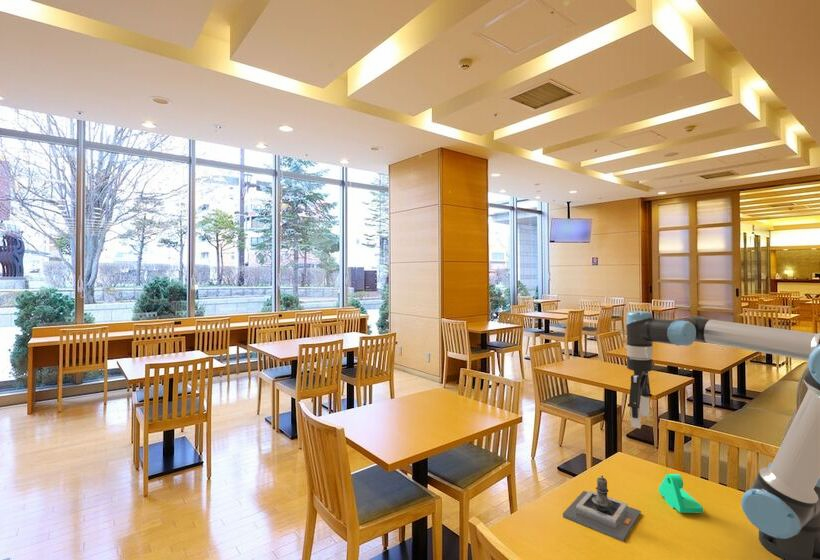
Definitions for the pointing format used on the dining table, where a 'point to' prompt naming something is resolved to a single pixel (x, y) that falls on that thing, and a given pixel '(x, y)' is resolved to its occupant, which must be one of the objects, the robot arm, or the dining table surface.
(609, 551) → the dining table surface
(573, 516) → the plate
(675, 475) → the camera mount
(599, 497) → the gray metallic stepped cylinder
